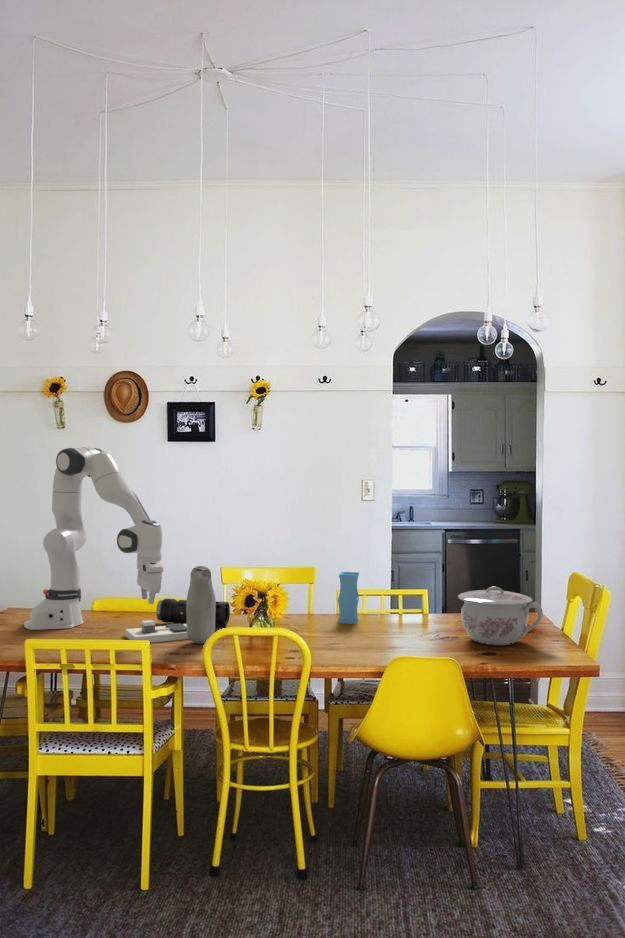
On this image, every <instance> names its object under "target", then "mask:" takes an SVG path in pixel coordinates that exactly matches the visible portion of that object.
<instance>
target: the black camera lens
mask: <svg viewBox="0 0 625 938" xmlns="http://www.w3.org/2000/svg"><path fill="white" fill-rule="evenodd" d="M186 601H187V599H179V600H177V599H175V598H163V599H159V600H158V602H157V605H156V612H155V613H156V619H157V621H161V622H162V623H167V624H179V623H181V624H187V613H186ZM230 614H231V607H230V602H228V601H216V610H215V627H222V628H224V627H227V625H228V624H229V621H230V617H231V615H230Z"/></svg>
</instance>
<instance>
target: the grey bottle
mask: <svg viewBox="0 0 625 938" xmlns="http://www.w3.org/2000/svg"><path fill="white" fill-rule="evenodd" d="M189 576H190V580H189V581H190V582H189V587H188V589H187V590H188V591H187V595H186V600H187V601H186V613H187V634H188V637H189V639H188V640H190V641H191V642H192V643H194V644H197V645H205V644H206V643H205V642H206V640H207V639H208V638H209V637H210V636H211V635H212V634H213V633H214V634H215V631H216V626H215V610H216V602H217V601H216V595H215V590H214V588H213V587H214V586H213V581H212V572H211V570H210V568H209V567H207V566H204V565H203V566H202V565H197V566H195V567H193V568H192V570H191V572H190V575H189Z"/></svg>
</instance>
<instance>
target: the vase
mask: <svg viewBox="0 0 625 938" xmlns="http://www.w3.org/2000/svg"><path fill="white" fill-rule="evenodd" d="M359 575H360V572H357V571H340V572H339V573H338V578H339V583H340V584H339V588H340V589H339V594H338V597H337V603H338V609H339V613H338V619H337V620H338V621H337V624H350V625H351V624H353V625H354V624H356V625H357V624H358V622H359V615H358V606H359V601H360V595H359V592H358V591H359V590H358V580H359Z"/></svg>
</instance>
